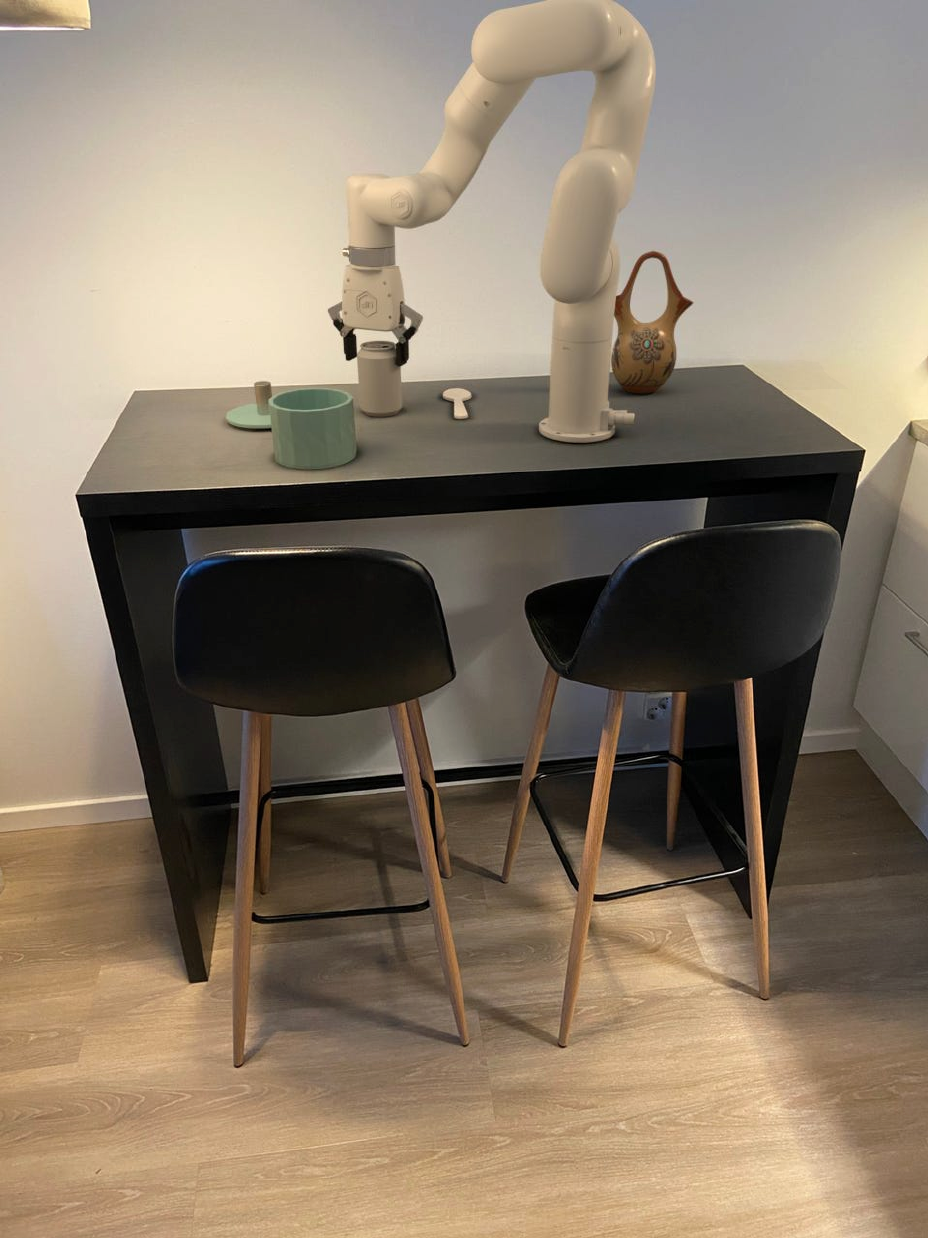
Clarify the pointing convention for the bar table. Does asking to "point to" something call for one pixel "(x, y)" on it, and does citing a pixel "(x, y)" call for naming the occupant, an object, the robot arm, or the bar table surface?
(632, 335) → the ceramic vessel
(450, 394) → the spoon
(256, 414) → the pot lid
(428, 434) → the bar table surface
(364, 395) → the can
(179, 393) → the bar table surface
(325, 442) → the pot
